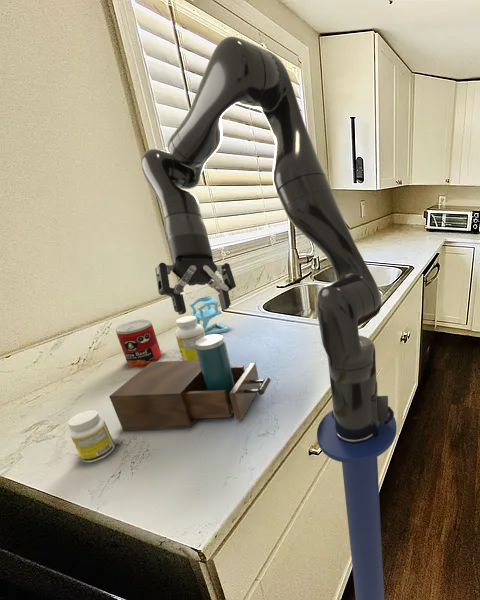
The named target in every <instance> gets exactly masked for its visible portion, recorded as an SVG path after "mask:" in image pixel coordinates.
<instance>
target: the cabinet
mask: <svg viewBox="0 0 480 600" xmlns="http://www.w3.org/2000/svg"><path fill="white" fill-rule="evenodd" d="M201 374H202V370H201V366H200V363H199V360H190V361H183V360H165V361H155V362H151V363H150V364H148V365H146V366H144V367H143V368H142V369H141V370H140V371H138V372H137V373H135V375H133V376H132V377H131V378H129V380H127V381H126V382H124V384H123V385H121V386H119V387H118V389H116V390H114V391H113V392H112V393H111V394H110V395H109V396H108V397H109V400H110V402H111V404H112V407H113V409H114V412H115V414H116V417H117V420H118V422H119V424H120V427H121V430H122V431H124V432H125V431H127V432H128V431H147V430H150V431H151V430H169V429H190V428H192V427H193V426H194V424H195V423H196V421H197V420H198V419H199V418H195V419H191V418H190V415H189V411H188V408H187V405H186V402H185V398H184V395H183V394H184V393H185V392H186V391H187V390H188V388H189V387H190V386H191V385H192V384H193V383H194V382H195V381H196V380H197V379H198V378H199V376H200V375H201Z"/></svg>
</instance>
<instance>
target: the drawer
mask: <svg viewBox="0 0 480 600" xmlns="http://www.w3.org/2000/svg"><path fill="white" fill-rule="evenodd" d="M231 369H232V374H233V378H234V382H235V386H234V387H233V389H232V390H231V391H230V393H229V395H230V399H231V404H229V401H228V397H227V393H226V390H213V391H207V389H206V385H205V381H204V378H203V374H201V375H200V376H199V378H198V379H197V380H196V381H195V382H194V383H193V384H192V385H191V386H190V387H189V388H188V390H187V391H186V392H185V393H184V394H183V395H184V398H185V402H186V405H187V408H188V411H189V415H190V418H191V419H195V418H198V419H215V418H217V419H218V418H231V417H232V415H234V419H235V421H241V420H242V419H243V418H244V416H245V414H246V413H247V411H248V409H249V407H250V405H251V404H252V402H253V400H254V399H255V397H256V395H257V394H258V395H261V396H263V395H264V394H265V392H266V390H267V389H268V386H269V385H270V383H271V381H272V380H271V378H270V377H268V376H267V377H265V378H264V379H260V378H259V374H258V369H257V363H256V362H250V363H249V365H248V366H247V367H246V369H245V367H244V365H231Z"/></svg>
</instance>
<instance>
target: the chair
mask: <svg viewBox="0 0 480 600" xmlns="http://www.w3.org/2000/svg"><path fill="white" fill-rule="evenodd" d="M200 302H203V303H202V304H201V305H200V306H198V307H197V309H196V307H195V305H196V304H198V303H200ZM218 303H219V302H218V300H217V299H216V298H215V297H214V296H210V295H209V296H202V297H199V298H197V299H195V300H194V301H193V302H192V303H190V304H189V306H190V308H191V309H192V313H190V316H196V318H197V324H200V325H201V322H202V326H203V328H204V332H205V336H207V335H213V334H221V333H224V332H228V331H229V327H227V326H226V325H223V324H220V323H218V322H214V323H212V324H210V325H208V324H209V322H210V321H211V320H212V319H213V318H215V317H216V316H219V315H222V311H221V310H219V309H218V305H219V304H218ZM212 305H213V306H214V307H211V306H212ZM206 307H207V308H206ZM204 308H205V309H204ZM197 310H198V311H197ZM215 327H218V328H220V329H215V330H212V329H213V328H215ZM210 330H212V331H210Z"/></svg>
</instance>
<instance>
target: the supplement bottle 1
mask: <svg viewBox="0 0 480 600" xmlns="http://www.w3.org/2000/svg"><path fill="white" fill-rule="evenodd" d="M67 425H68V428H69V430H70V433H69V435H70V438H71V441H72V442H73V444H74V446H75V448H76V450H77V452H78V454H79V456H80V458H81V461H82V462H85V463H93V462H97V461H100V460H102V459H104V458H105V457H107V456H109V455H110V454H111V453H112V452H113V451H114V449H115V448H116V447H115V446H116V445H115V442H114V439H113V437H112V435H111V433H110V430H109V427H108V425H107V424H106V421H105V420H104V419H103V418H101V416H100V415H99V412H98V411H97V410H92V409H90V410H86V411H82V412H79V413H77V414H75V415H73V417H71V418H70V419H68V422H67Z"/></svg>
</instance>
